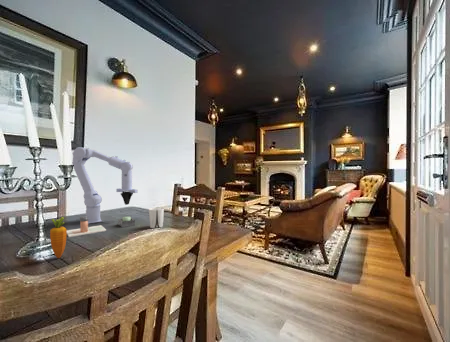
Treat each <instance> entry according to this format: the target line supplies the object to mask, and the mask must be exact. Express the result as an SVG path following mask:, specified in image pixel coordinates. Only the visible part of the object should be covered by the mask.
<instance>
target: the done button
mask: <svg viewBox="0 0 450 342" xmlns="http://www.w3.org/2000/svg"><path fill="white" fill-rule="evenodd" d="M131 218H132V217H131V216H122V217H121V219H122V221H129V220H131Z"/></svg>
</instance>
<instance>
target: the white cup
mask: <svg viewBox="0 0 450 342" xmlns="http://www.w3.org/2000/svg"><path fill="white" fill-rule="evenodd" d="M157 210H158V223H159V227H161V228H163V227H164V215H165V214H164V212H165V209H164V207H150V208H148V216H149V218H148V219H149V228H150V229H154V228H155V224H156V214H157V212H156V211H157ZM156 227H158V226H156Z"/></svg>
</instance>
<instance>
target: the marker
mask: <svg viewBox="0 0 450 342" xmlns="http://www.w3.org/2000/svg"><path fill="white" fill-rule="evenodd" d="M79 221H80V224H79V227H80V228H79V229H80V232H82V233H83V232H88V227H89V224H88V217H86V216H81V217H79Z"/></svg>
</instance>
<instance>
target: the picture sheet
mask: <svg viewBox="0 0 450 342" xmlns="http://www.w3.org/2000/svg"><path fill="white" fill-rule="evenodd" d="M66 230H67V237H68V238H72V237H78V236H83V235H90V234H95V233H101V232H106V231H107V229H106V228H105V227H104V226H103V225H101V224H100V225H92V226H88V232H83V233H82V232H80V228H74V229H66Z"/></svg>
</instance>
